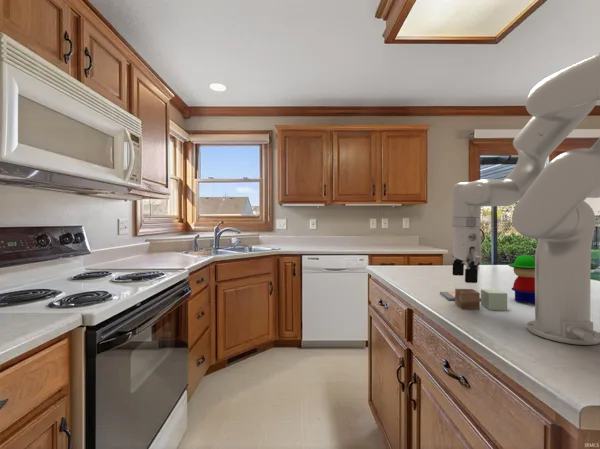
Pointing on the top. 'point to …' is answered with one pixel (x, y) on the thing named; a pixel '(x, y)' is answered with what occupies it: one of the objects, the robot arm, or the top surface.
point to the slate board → (449, 295)
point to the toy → (524, 279)
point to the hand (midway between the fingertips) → (464, 278)
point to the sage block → (493, 299)
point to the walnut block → (467, 299)
